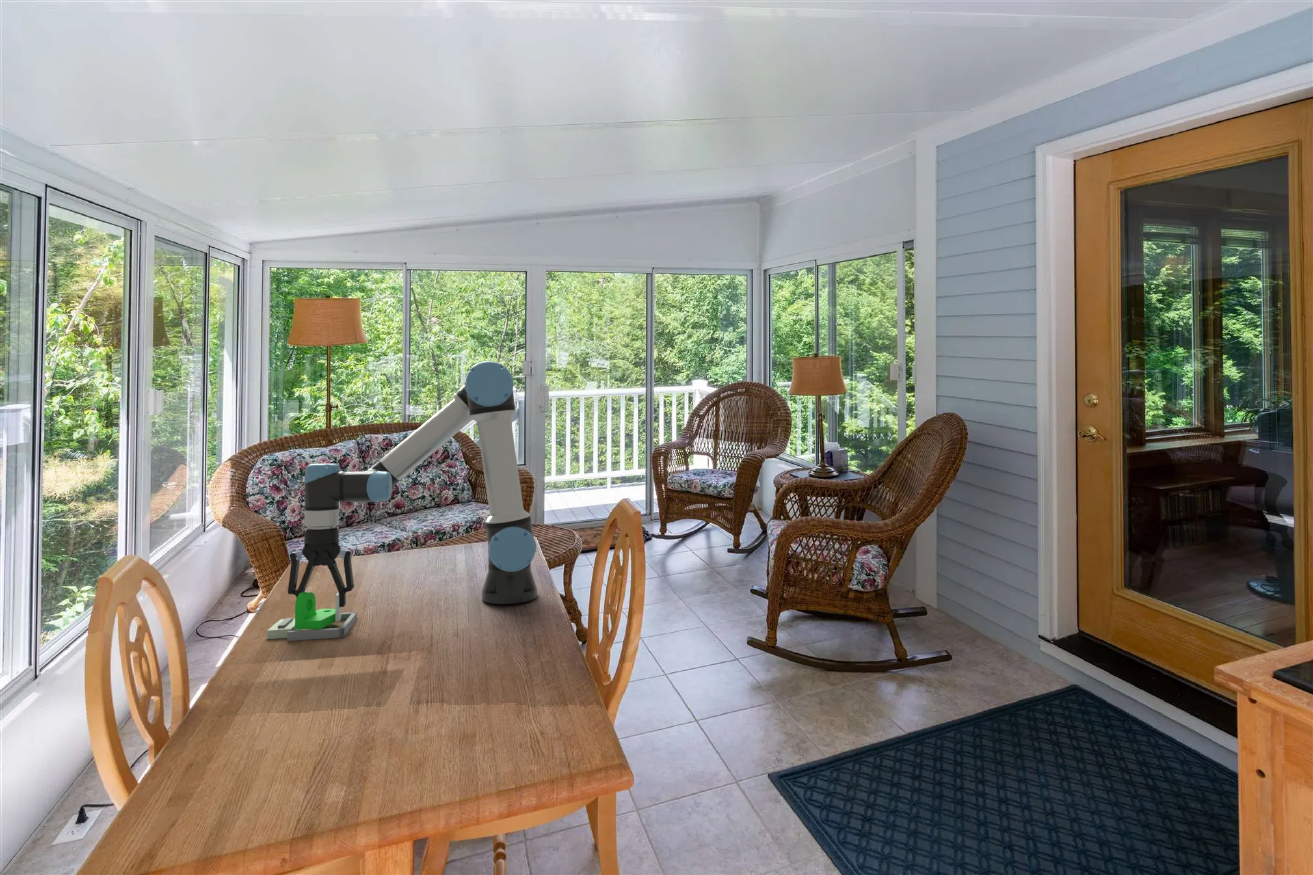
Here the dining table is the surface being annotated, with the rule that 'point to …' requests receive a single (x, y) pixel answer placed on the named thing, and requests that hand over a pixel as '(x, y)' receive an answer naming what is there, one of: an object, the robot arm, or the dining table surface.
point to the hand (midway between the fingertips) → (321, 621)
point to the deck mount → (287, 630)
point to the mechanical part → (311, 613)
